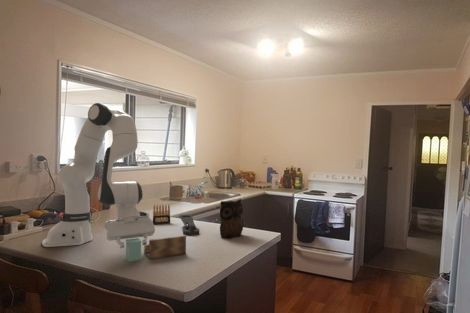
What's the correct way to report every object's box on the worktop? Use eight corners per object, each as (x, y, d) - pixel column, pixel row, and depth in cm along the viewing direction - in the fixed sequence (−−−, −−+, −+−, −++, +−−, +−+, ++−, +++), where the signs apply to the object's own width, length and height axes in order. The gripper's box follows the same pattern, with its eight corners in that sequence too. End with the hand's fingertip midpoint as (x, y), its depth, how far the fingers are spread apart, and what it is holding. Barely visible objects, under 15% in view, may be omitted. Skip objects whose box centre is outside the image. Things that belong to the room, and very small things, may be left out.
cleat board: (150, 259, 144) (150, 240, 144) (144, 253, 152) (144, 235, 152) (185, 254, 152) (186, 236, 152) (178, 248, 160) (178, 231, 160)
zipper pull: (192, 214, 210) (200, 223, 186) (192, 224, 210) (200, 235, 186) (177, 214, 207) (184, 223, 183) (177, 225, 207) (184, 236, 183)
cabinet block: (128, 261, 141) (128, 242, 141) (125, 257, 146) (125, 239, 146) (140, 260, 143) (141, 241, 143) (137, 256, 148) (137, 237, 148)
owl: (244, 234, 188) (244, 198, 187) (238, 240, 176) (239, 201, 175) (222, 232, 191) (222, 197, 191) (215, 238, 179) (215, 200, 178)
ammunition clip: (152, 224, 209) (152, 204, 209) (152, 223, 211) (152, 204, 211) (170, 223, 213) (170, 204, 212) (169, 222, 214) (170, 203, 214)
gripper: (104, 216, 146) (108, 245, 138) (152, 212, 157) (158, 238, 148) (103, 225, 150) (107, 253, 142) (149, 220, 161) (155, 246, 152)
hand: (133, 245), depth 145 cm, fingers open, 8 cm apart
